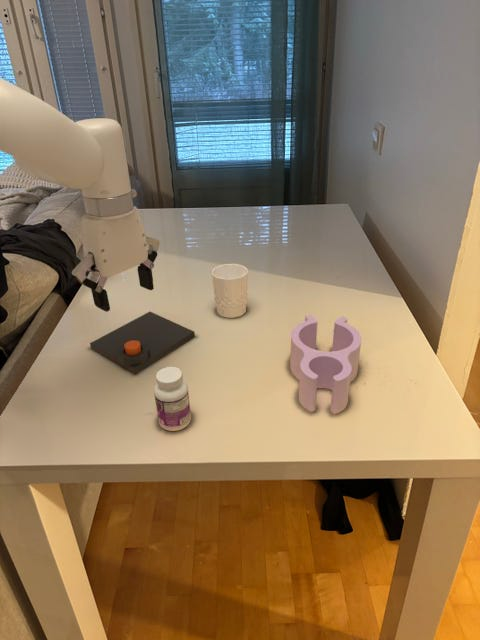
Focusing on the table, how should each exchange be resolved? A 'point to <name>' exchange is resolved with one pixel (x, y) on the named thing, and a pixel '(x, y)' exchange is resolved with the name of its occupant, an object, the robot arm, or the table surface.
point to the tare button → (132, 347)
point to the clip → (324, 362)
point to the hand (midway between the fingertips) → (126, 298)
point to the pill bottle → (172, 399)
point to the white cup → (230, 289)
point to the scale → (143, 341)
